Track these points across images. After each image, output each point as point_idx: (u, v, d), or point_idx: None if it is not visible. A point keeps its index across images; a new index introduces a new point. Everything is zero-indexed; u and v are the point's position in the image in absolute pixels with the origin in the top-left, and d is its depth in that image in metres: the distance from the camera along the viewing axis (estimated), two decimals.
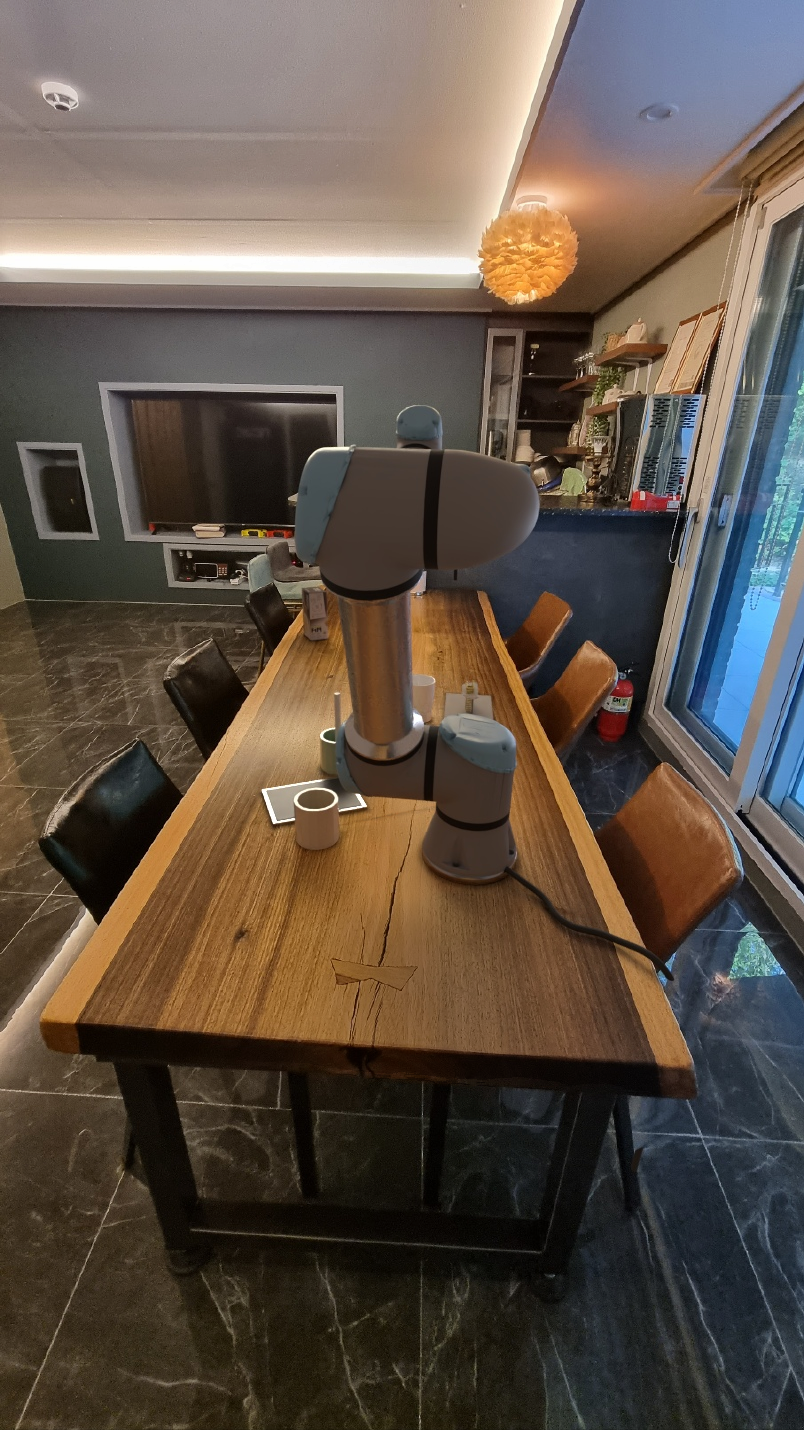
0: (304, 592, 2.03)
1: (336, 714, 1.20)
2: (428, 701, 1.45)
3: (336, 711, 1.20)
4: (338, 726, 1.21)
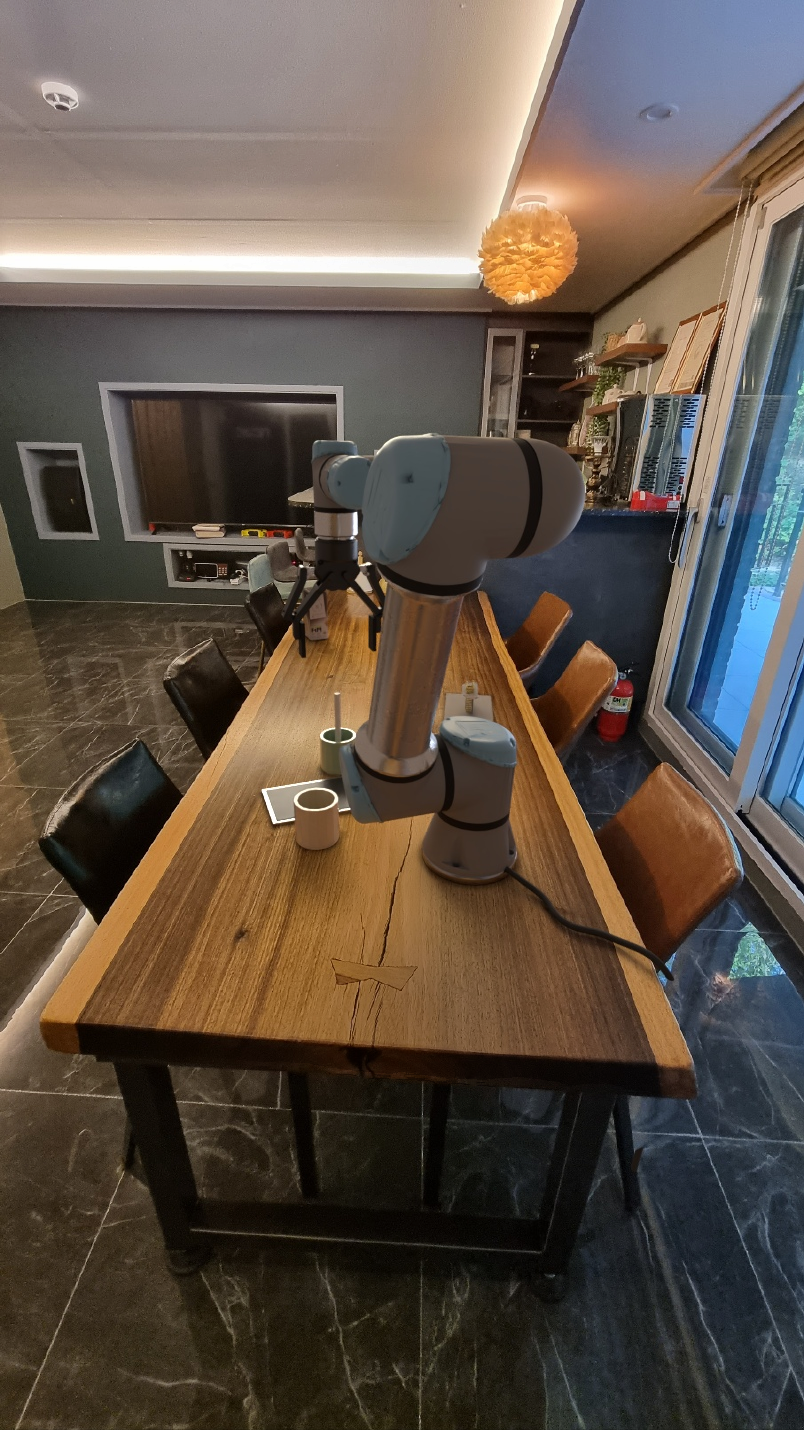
0: (304, 592, 2.03)
1: (336, 714, 1.20)
2: None
3: (336, 711, 1.20)
4: (338, 726, 1.21)
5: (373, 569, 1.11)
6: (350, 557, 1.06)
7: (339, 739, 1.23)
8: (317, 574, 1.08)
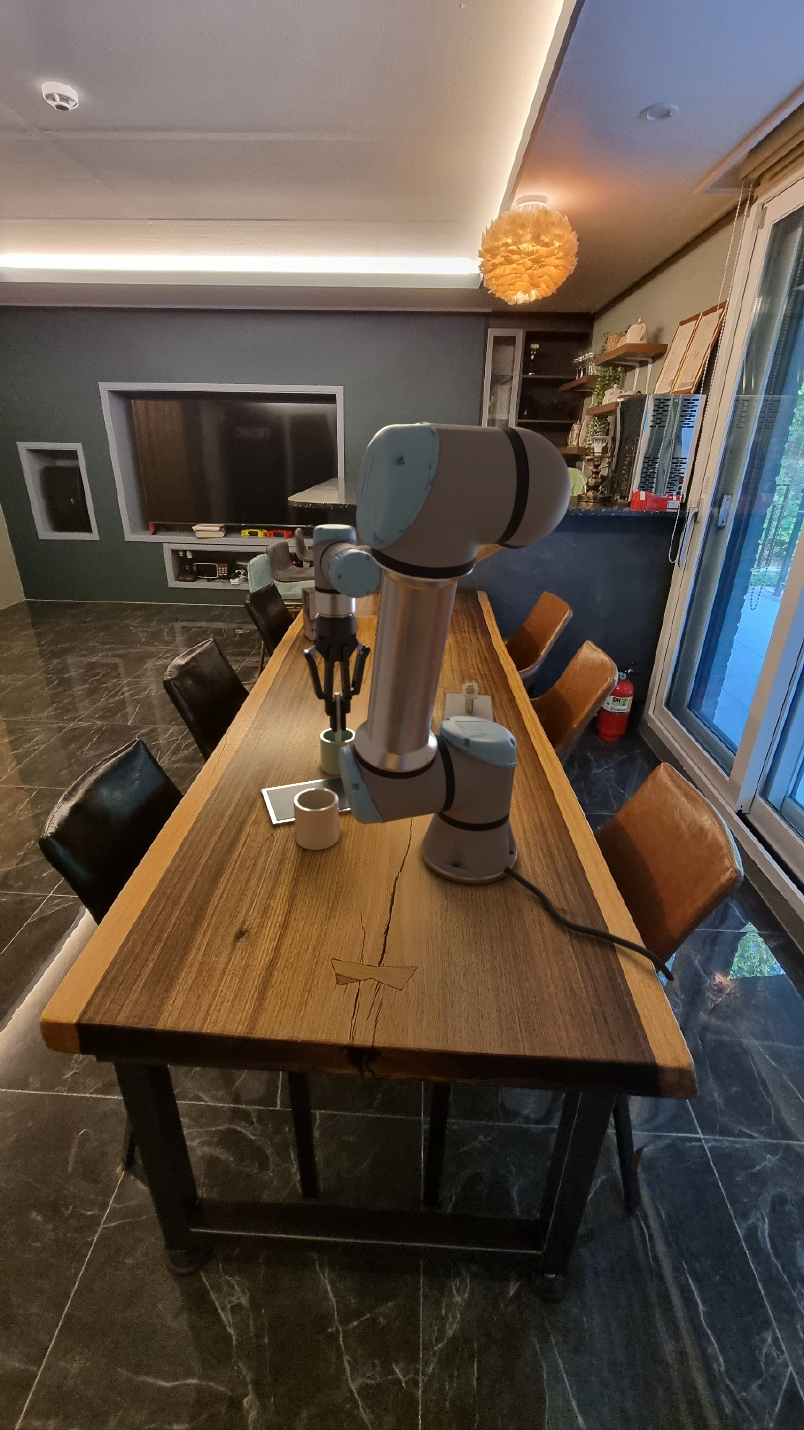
0: (304, 592, 2.03)
1: None
2: None
3: None
4: (338, 726, 1.21)
5: (368, 652, 1.17)
6: (349, 633, 1.11)
7: (339, 739, 1.23)
8: (320, 650, 1.13)
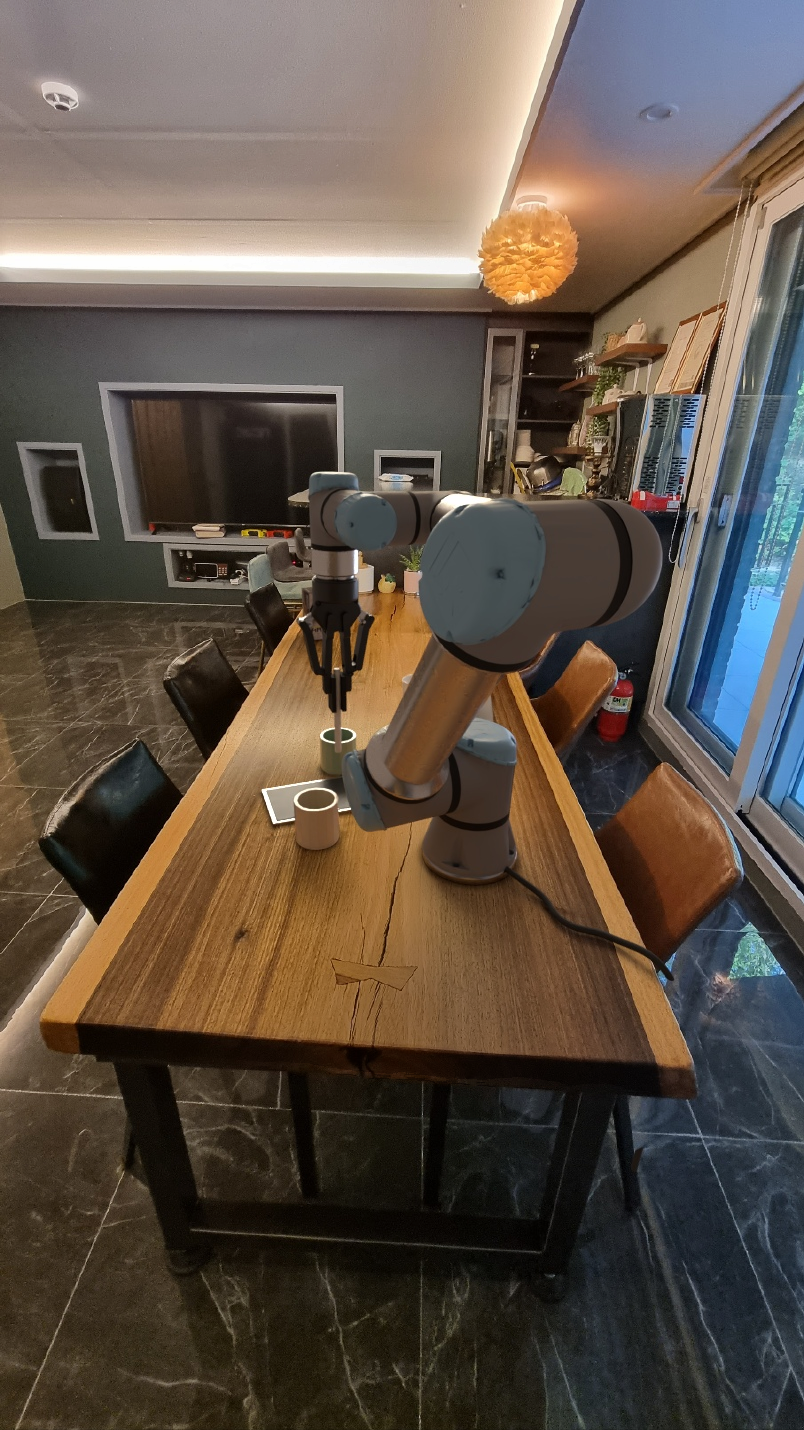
0: (304, 592, 2.03)
1: None
2: None
3: None
4: (338, 706, 1.07)
5: (371, 621, 1.03)
6: (350, 598, 0.97)
7: (339, 721, 1.09)
8: (317, 617, 0.99)
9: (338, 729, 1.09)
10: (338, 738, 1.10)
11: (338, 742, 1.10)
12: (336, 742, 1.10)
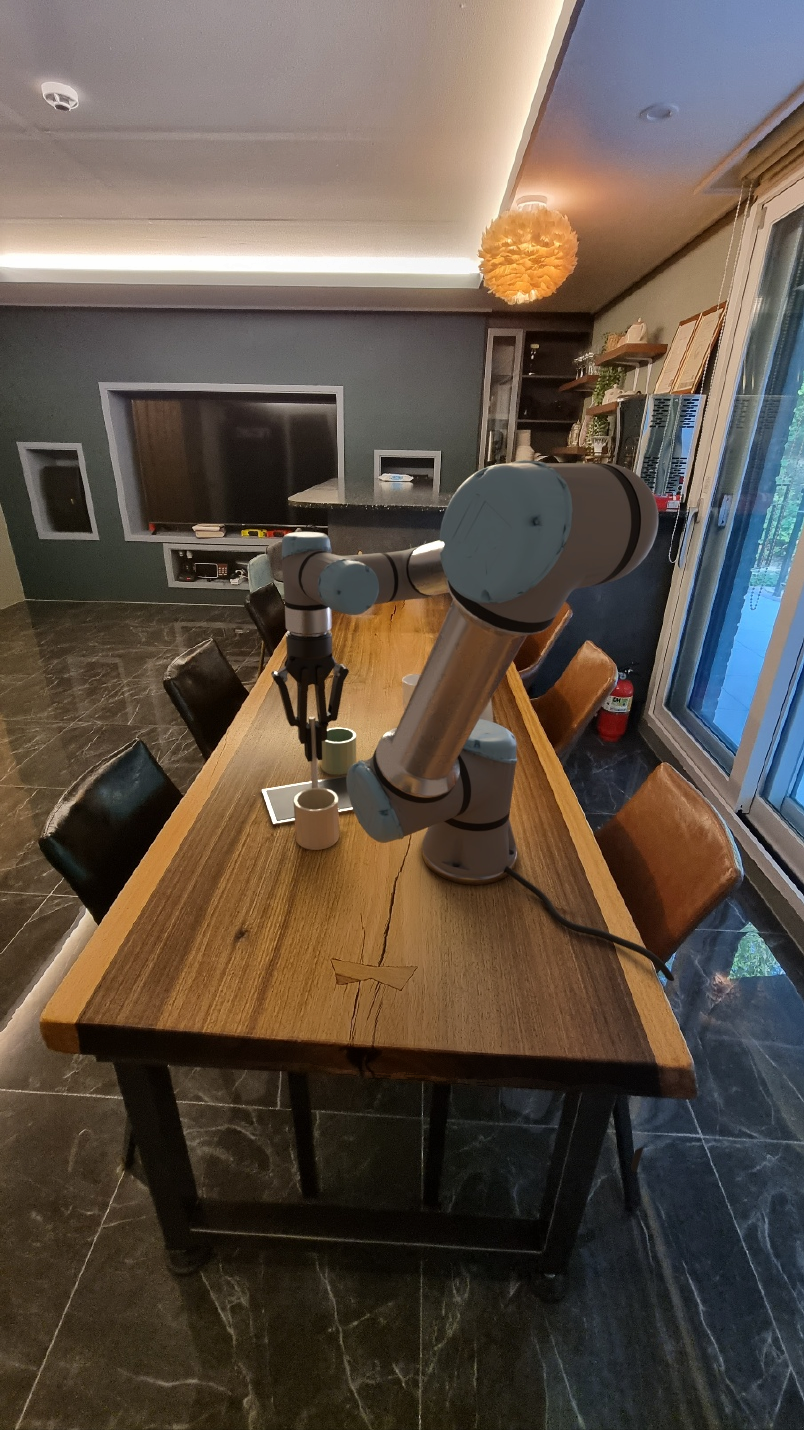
0: None
1: None
2: None
3: (311, 737, 1.08)
4: (313, 754, 1.09)
5: (345, 674, 1.05)
6: (323, 653, 0.99)
7: (315, 768, 1.10)
8: (291, 672, 1.01)
9: (315, 776, 1.11)
10: (315, 784, 1.12)
11: None
12: None
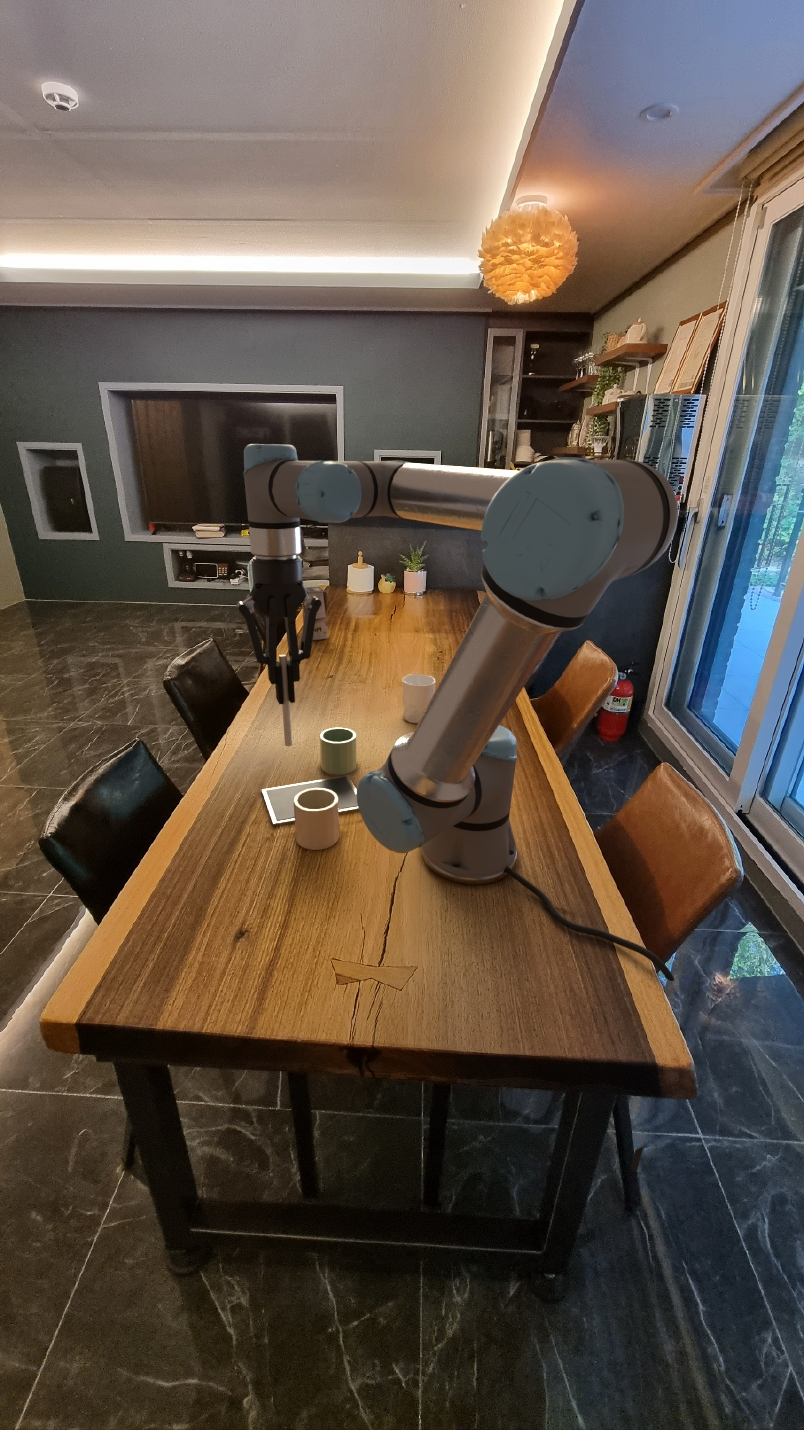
0: None
1: None
2: (428, 701, 1.45)
3: (282, 677, 1.00)
4: (285, 696, 1.01)
5: (318, 606, 0.96)
6: (292, 579, 0.91)
7: (287, 712, 1.02)
8: (258, 601, 0.93)
9: (287, 721, 1.03)
10: (288, 730, 1.03)
11: (287, 735, 1.04)
12: (285, 735, 1.04)
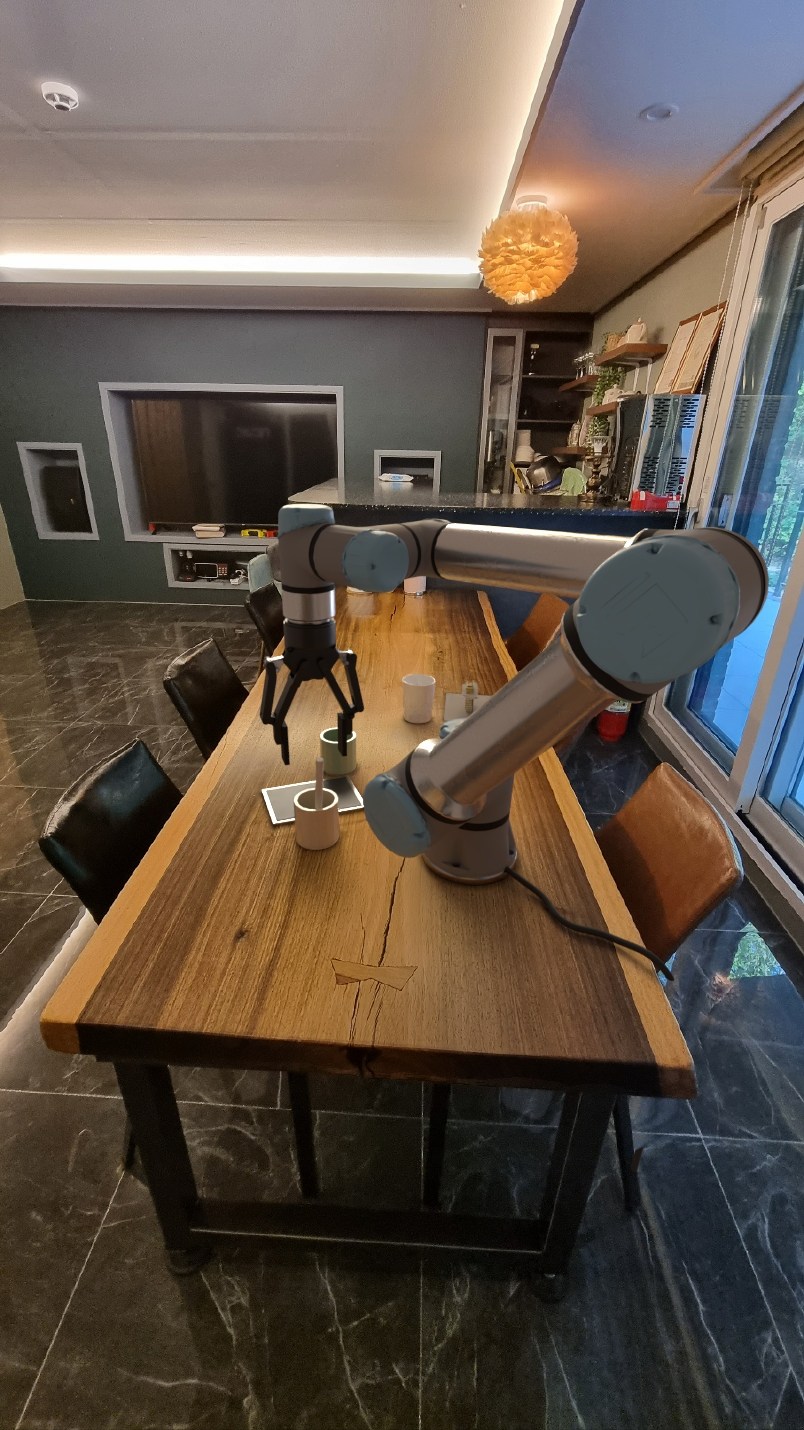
0: None
1: (317, 782, 0.96)
2: (428, 701, 1.45)
3: (317, 779, 0.96)
4: (319, 795, 0.98)
5: (354, 659, 0.92)
6: (326, 643, 0.87)
7: (319, 808, 0.99)
8: (287, 664, 0.89)
9: None
10: None
11: None
12: None
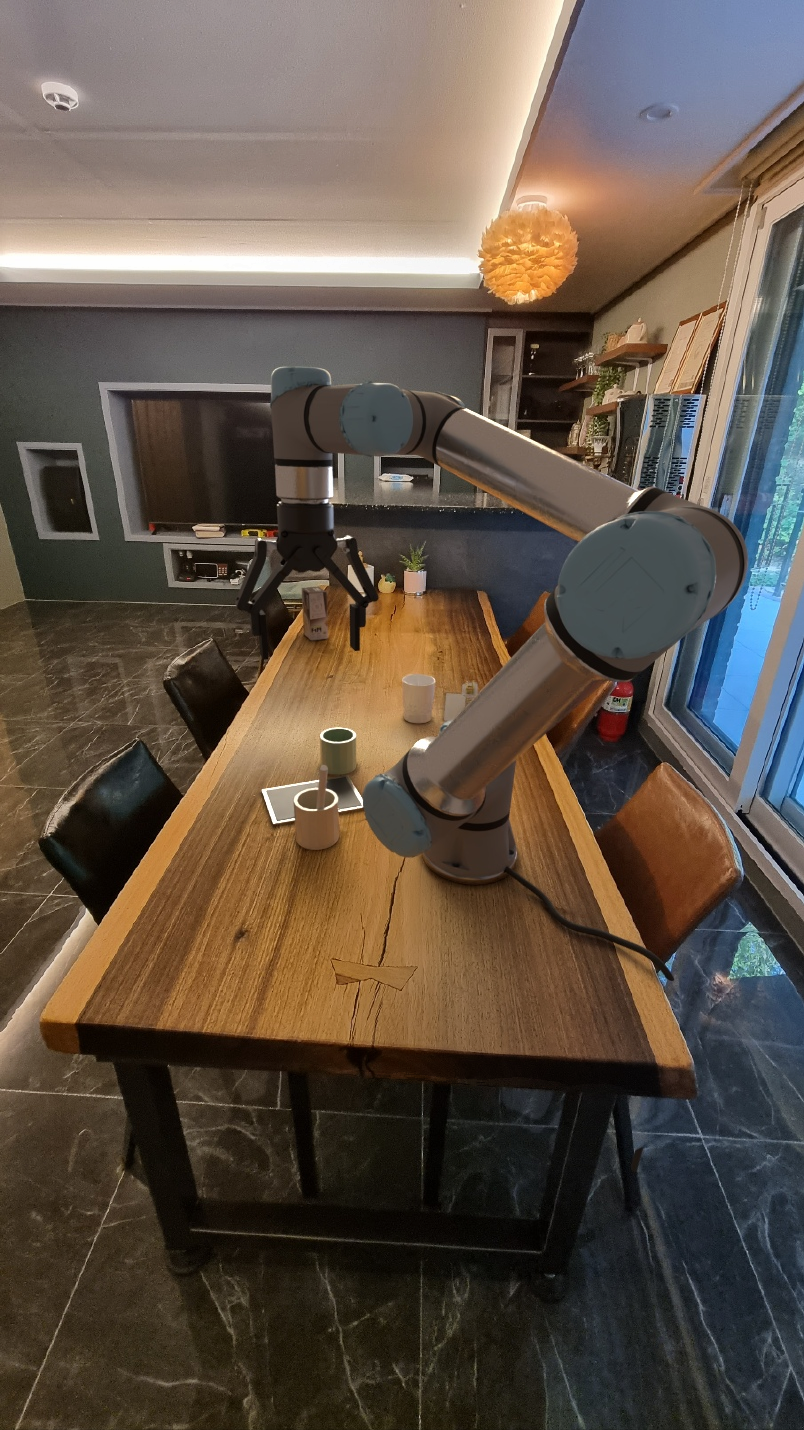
0: (304, 592, 2.03)
1: (320, 789, 0.95)
2: (428, 701, 1.45)
3: (320, 786, 0.95)
4: (321, 800, 0.97)
5: (354, 544, 0.85)
6: (323, 527, 0.81)
7: None
8: (280, 550, 0.82)
9: None
10: None
11: None
12: None
